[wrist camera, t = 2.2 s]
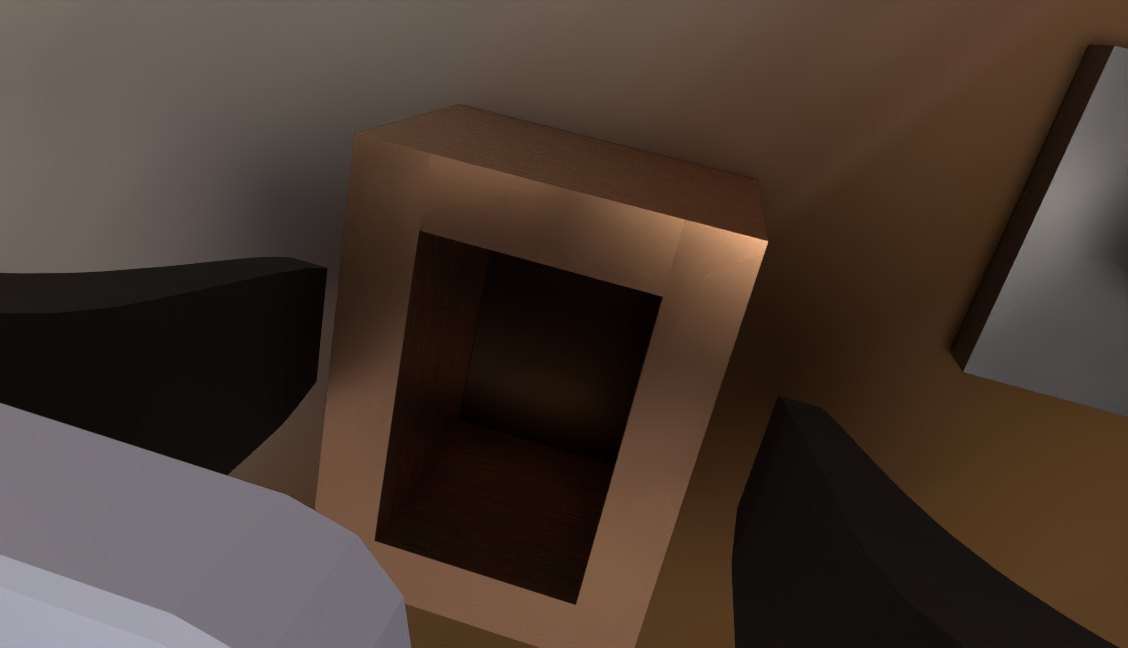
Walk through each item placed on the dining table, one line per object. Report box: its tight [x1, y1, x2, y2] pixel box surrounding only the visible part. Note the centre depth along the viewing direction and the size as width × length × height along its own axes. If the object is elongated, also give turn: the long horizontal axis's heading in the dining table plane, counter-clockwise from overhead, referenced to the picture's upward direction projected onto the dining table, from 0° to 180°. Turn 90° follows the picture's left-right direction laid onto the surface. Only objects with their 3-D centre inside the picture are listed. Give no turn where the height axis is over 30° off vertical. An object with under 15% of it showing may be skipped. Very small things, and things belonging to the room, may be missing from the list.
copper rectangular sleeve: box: [315, 104, 768, 648], centre depth 13 cm, size 7×5×4 cm
